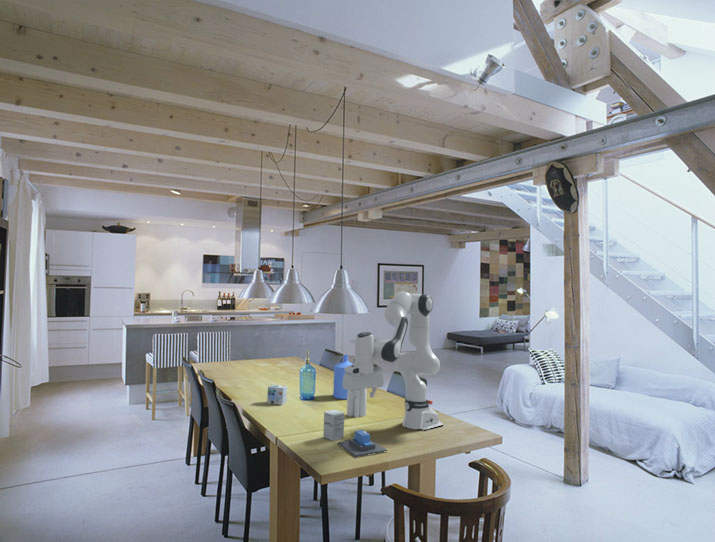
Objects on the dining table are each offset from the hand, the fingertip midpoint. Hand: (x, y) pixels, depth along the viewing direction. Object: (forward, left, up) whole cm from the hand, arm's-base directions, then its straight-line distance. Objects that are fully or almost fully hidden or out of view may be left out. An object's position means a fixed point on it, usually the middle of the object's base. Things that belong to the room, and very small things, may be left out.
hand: (363, 398), depth 207 cm
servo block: (0, 0, -22) cm, 22 cm away
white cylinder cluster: (-23, -48, -23) cm, 58 cm away
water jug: (-36, -90, -23) cm, 100 cm away
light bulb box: (+11, -91, -23) cm, 95 cm away
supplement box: (+6, -18, -23) cm, 30 cm away
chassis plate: (0, 0, -23) cm, 23 cm away
